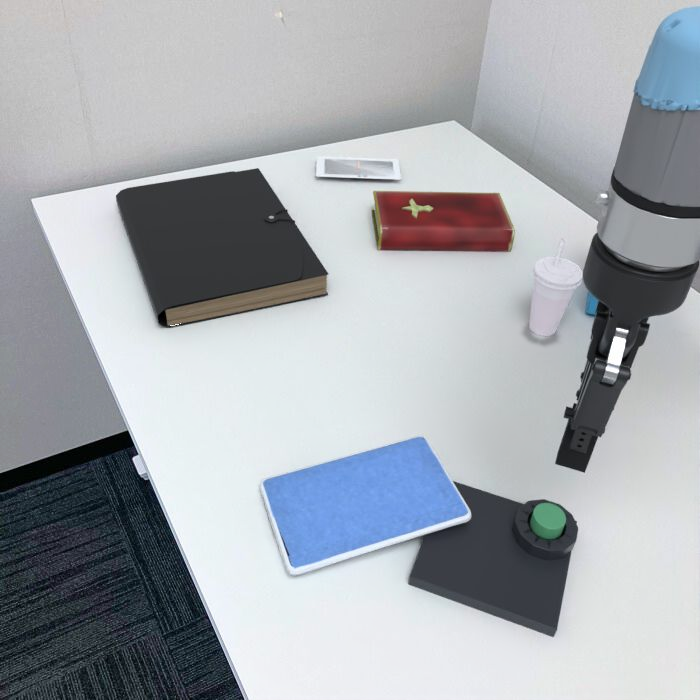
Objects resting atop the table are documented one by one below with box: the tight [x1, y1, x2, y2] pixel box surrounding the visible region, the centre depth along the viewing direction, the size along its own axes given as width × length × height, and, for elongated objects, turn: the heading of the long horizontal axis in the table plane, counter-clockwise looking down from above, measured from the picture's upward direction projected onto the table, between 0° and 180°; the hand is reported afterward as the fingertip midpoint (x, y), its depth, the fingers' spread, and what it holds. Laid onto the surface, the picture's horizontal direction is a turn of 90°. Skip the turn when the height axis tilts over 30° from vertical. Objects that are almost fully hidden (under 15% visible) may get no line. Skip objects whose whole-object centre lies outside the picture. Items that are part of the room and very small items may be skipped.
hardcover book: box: [371, 190, 516, 253], centre depth 120 cm, size 12×21×4 cm, turn 93°
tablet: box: [259, 435, 471, 577], centre depth 77 cm, size 19×13×1 cm, turn 109°
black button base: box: [407, 480, 579, 638], centre depth 74 cm, size 14×13×3 cm
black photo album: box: [115, 167, 329, 328], centre depth 113 cm, size 33×4×24 cm
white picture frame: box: [315, 155, 402, 181], centre depth 134 cm, size 8×15×2 cm, turn 91°
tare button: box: [530, 503, 566, 539], centre depth 74 cm, size 3×3×2 cm
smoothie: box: [528, 237, 583, 337], centre depth 99 cm, size 6×6×14 cm
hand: (571, 462), depth 69 cm, fingers closed
